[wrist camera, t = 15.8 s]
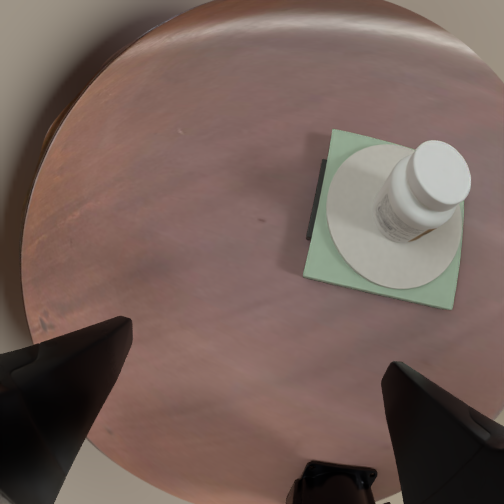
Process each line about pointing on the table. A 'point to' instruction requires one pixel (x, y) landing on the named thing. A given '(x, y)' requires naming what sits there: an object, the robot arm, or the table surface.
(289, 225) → the table surface
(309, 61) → the table surface
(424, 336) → the table surface
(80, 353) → the robot arm
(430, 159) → the pill bottle
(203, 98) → the table surface
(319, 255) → the scale
